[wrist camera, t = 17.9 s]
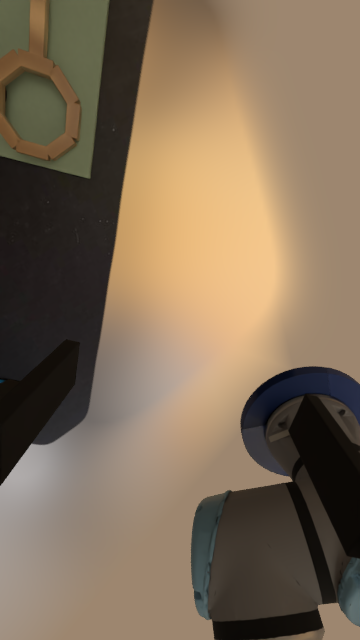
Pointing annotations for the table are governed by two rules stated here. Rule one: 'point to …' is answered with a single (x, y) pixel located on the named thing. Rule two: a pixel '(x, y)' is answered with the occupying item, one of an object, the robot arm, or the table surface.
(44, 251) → the table surface
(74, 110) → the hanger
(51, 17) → the mat
